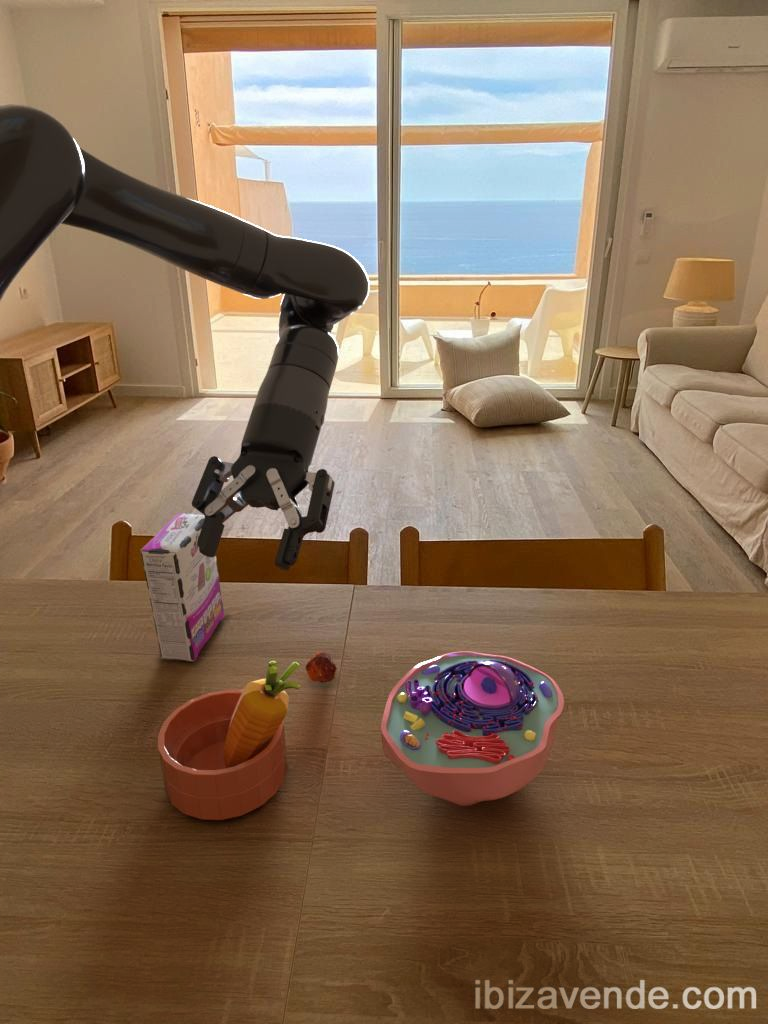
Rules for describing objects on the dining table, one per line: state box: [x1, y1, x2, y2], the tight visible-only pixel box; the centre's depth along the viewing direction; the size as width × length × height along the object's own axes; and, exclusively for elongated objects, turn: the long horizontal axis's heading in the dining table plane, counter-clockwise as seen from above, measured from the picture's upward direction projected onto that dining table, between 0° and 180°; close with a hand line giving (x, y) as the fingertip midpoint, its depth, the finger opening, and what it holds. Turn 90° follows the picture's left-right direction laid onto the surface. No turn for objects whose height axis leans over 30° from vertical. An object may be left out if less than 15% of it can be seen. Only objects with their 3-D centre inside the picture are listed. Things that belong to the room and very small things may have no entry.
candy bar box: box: [139, 512, 225, 663], centre depth 92 cm, size 11×5×16 cm, turn 171°
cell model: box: [380, 650, 565, 807], centre depth 70 cm, size 17×20×11 cm
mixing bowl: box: [157, 689, 288, 821], centre depth 71 cm, size 12×12×6 cm
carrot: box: [224, 660, 301, 768], centre depth 69 cm, size 5×5×15 cm
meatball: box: [305, 651, 338, 683], centre depth 85 cm, size 4×4×4 cm
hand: (243, 561), depth 69 cm, fingers open, 8 cm apart
